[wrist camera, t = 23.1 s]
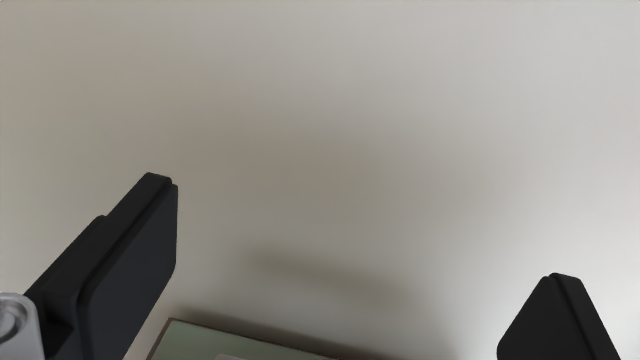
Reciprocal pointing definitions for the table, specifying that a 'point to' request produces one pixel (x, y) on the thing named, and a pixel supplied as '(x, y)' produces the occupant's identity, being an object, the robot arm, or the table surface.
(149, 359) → the cabinet
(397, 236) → the table surface
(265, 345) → the drawer
